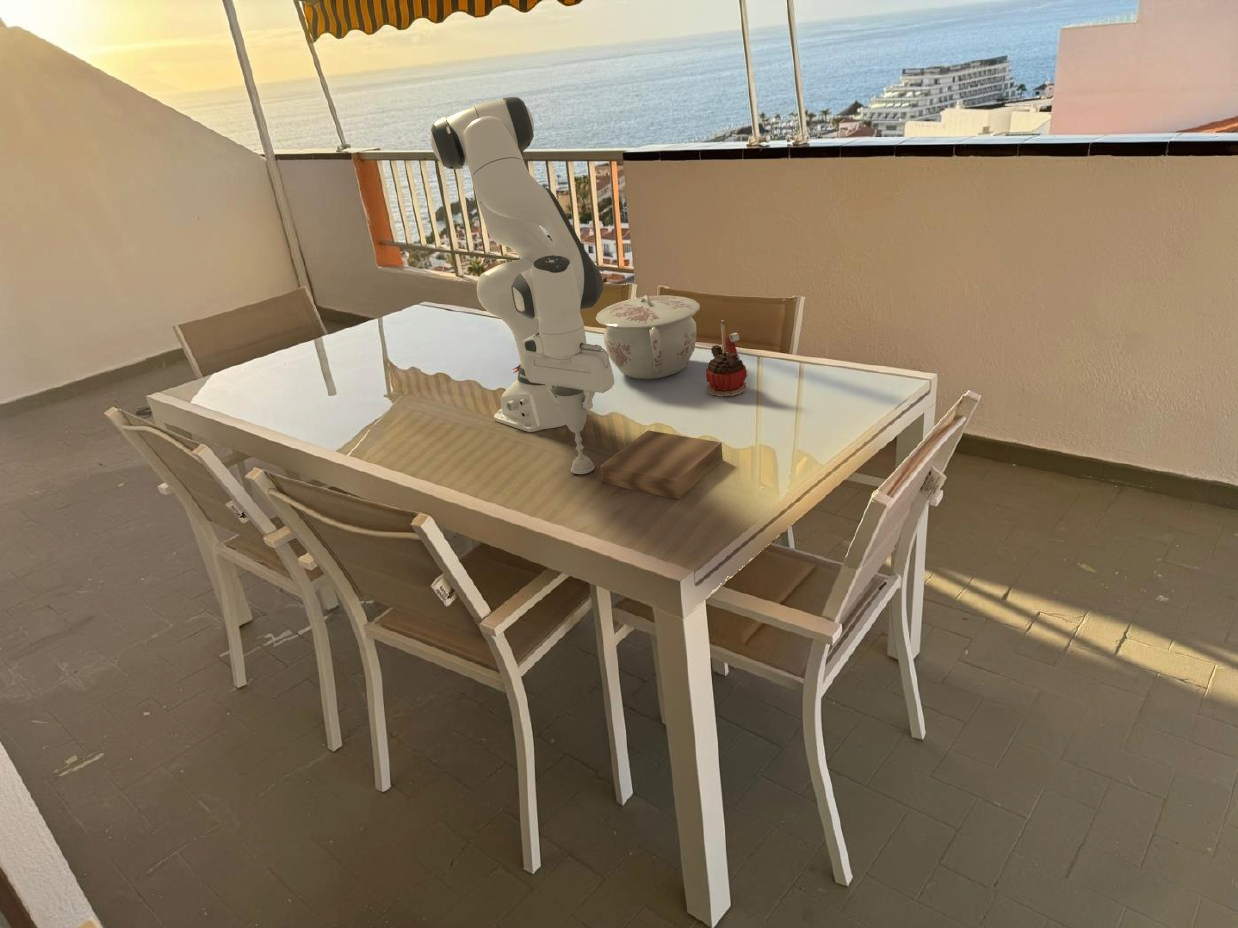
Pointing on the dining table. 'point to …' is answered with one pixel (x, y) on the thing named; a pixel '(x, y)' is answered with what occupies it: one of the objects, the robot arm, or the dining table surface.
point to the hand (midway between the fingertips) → (573, 406)
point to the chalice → (574, 423)
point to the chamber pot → (650, 335)
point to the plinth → (662, 464)
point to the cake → (726, 367)
